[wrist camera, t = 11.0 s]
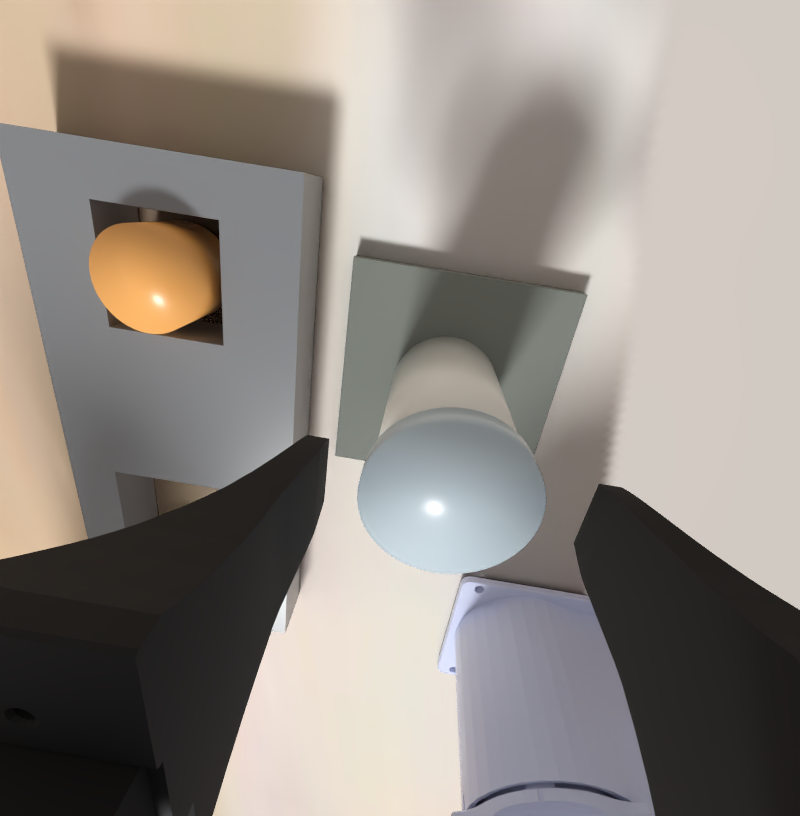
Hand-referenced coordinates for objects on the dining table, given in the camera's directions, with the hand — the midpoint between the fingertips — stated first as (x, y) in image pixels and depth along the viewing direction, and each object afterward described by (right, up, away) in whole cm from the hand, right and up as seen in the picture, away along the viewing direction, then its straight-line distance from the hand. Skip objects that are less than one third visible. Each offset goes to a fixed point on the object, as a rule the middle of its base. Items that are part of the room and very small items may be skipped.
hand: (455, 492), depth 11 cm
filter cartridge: (0, +3, +7) cm, 8 cm away
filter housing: (-11, +2, +9) cm, 14 cm away
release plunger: (-10, +8, +6) cm, 14 cm away
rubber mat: (+1, +4, +7) cm, 8 cm away
